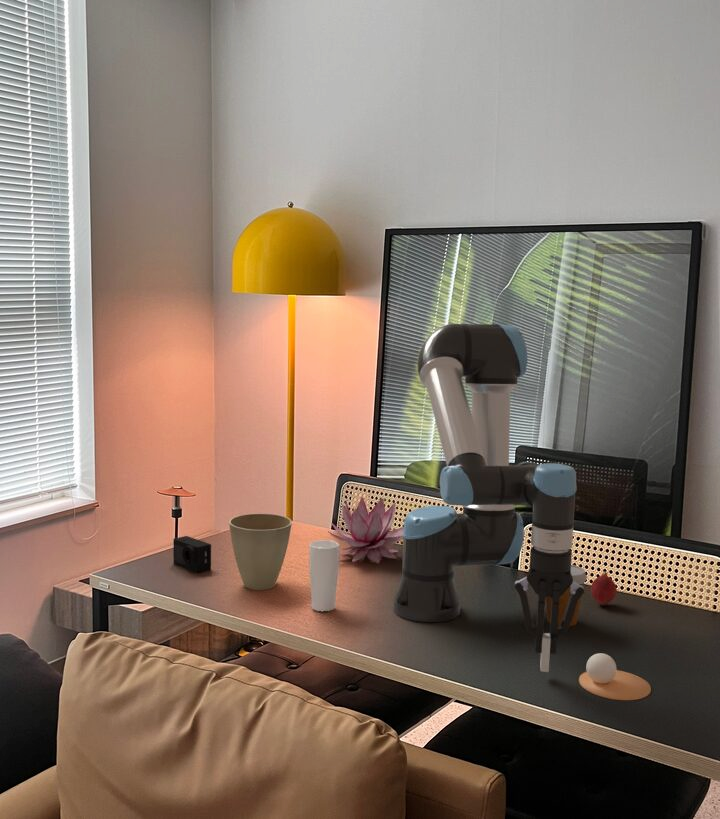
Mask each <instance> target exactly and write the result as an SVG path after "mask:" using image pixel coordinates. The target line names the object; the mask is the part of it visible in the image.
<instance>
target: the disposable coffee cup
mask: <svg viewBox="0 0 720 819" xmlns="http://www.w3.org/2000/svg"><path fill="white" fill-rule="evenodd" d="M571 575H572V577H573V581H575V582H576V583H577V584H581V585H583V587H584V585H585V583H586V580H587V579H588V576H587V574H586V570H585V569H584V568H583V567H581V566H578V565H575V564H571ZM570 588H571V586H570V587H569V588H568V589H567V590H566V591H565V592H564V593H563V595H562V596H560V597H559V611H558V627H560V626H561V623H562V619H563V616H564V613H565V610H566V607H567V604H568V601H569V598H570V595H571V592H570ZM582 596H583V595H582ZM582 596H581V597H580V598H579V600H578V602H577V605H576V608H575V611H574V614H573V617H572V620H571V623H570V627H574V626H576V625H577V622H578V617H579V611H580V605H581V600H582ZM551 603H552V598H551V597H545V606H546V618H547V619H546V620H547V622H548V623H549V624H550V621H551ZM575 624H576V625H575ZM573 625H574V626H573Z"/></svg>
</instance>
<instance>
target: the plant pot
mask: <svg viewBox="0 0 720 819" xmlns="http://www.w3.org/2000/svg"><path fill="white" fill-rule="evenodd" d="M292 524H293V521H292V519H291V518H289V517H287V516H285V515H281V514H274V513H258V512H257V513H247V514H239V515H237V516H233V517H232V518H230V519H229V521H228V525H229V532H230V533H229V534H230V539H231V545H232V549H233V550H232V551H233V553H234V554H233V555H234V558H235V561H236V566H237V569H238V572H239V575H240V578H241V581H242V583H243V585H244V587H245V588H247V589H249V590H253V591H254V590H255V591H264V590H265V589H266V590H269V589H272V588H274V587H275V585H276V583H277V580H278V578H279V576H280V573H281V570H282V566H283V563H284V560H285V557H286V554H287V549H288V547H289V546H288V545H289V541H290V537H291V532H292V531H291V529H292ZM266 590H265V591H266Z"/></svg>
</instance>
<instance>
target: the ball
mask: <svg viewBox="0 0 720 819" xmlns="http://www.w3.org/2000/svg"><path fill="white" fill-rule="evenodd" d="M585 668H586V669H585V670H586V672H587V673H588V676H589V677H590V678H591V679H592V680H593V681H595V682H597V683H600V684H605V683H608V682H610V681H611V680H612V679H613V678H614V677H615V675H616V670H618V669H617V664H616V662H615V660H614V659H613V658H612V656H610V655H608V654H607V653H602V652H601V653H600V652H599V653H598V652H597V653H595V654H593V655H592V656H591V655H590V657H589V659H588V660H587V662H586V667H585Z"/></svg>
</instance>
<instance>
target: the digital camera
mask: <svg viewBox="0 0 720 819" xmlns="http://www.w3.org/2000/svg"><path fill="white" fill-rule="evenodd" d="M172 545H173V553H172V554H173V565H174V566H177V567H178V568H182V569H184V570H187V571H189V572H192V573H194V574H202V573H206V572H210V571H212V544H210V543H208V542H205V541H203V540H201V539H200V540H199V539H197V538H194V537H191V536H188V535H184V536H179V537H175V538H173V544H172Z"/></svg>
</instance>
